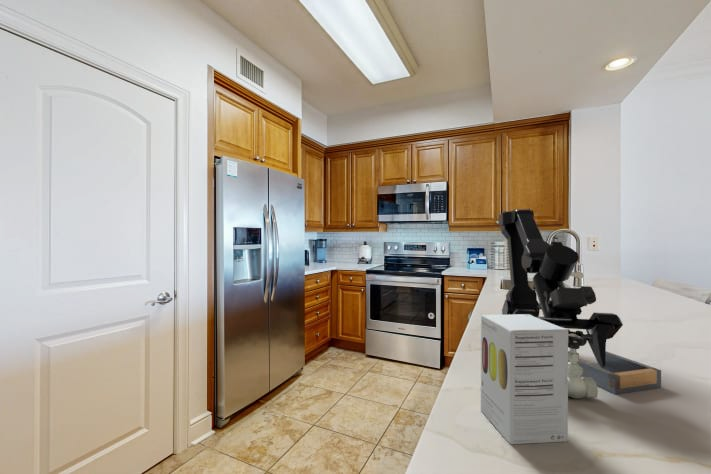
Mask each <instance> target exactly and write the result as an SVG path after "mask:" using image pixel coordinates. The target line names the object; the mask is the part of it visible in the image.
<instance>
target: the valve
mask: <svg viewBox="0 0 711 474" xmlns="http://www.w3.org/2000/svg"><path fill="white" fill-rule="evenodd" d="M570 330H571V329H568V349H569V350H568V360H570V362H568V398H569V397H570V398H572V399H582V398H590V399H595V398H598V395H599V387H598V386H597V385H596V382H595V381H594V379H593V378H592V377H581V375H583V368H582V367H580V366H579V364H578V363H577V362H578V361H579V359H580V354H579V353H578V352H577V350H579V349H580V347H584V346H585V345H586V344H587V342H588V341H589V343H588V345H589V344H594V338H593V335H591V334H587V333H584V331H582V330H576V331H572V330H571V331H570Z"/></svg>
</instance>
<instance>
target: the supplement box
mask: <svg viewBox="0 0 711 474" xmlns="http://www.w3.org/2000/svg"><path fill="white" fill-rule="evenodd" d="M480 324H481V325H480V331H481V332H480V335H481V336H480V342H481V343H480V411H481V412H482V413H483V415H484V416H486V418H487V419H488V420H489V422H490V423H491V424H492V425H493V426H494V428H496V429H497V431H498V433H500V434H501V435H502V436H503V438H504V439H505V440H506V441H507V442H508V443H509V444H510V445H521V444H522V445H524V444H525V445H526V444H542V443H545V444H546V443H563V442H568V439H569V438H568V435H569V433H568V431H569V428H568V427H569V426H568V425H569V424H568V422H569V420H568V419H569V418H568V417H569V415H568V412H569V404H568V403H569V399H568V398H569V396H568V351H569V347H568V330H569V329H568V328H562V327H559V326H557V325H554V324H552V323H549V322H547V321H544V320H541V319H539V318H536V317H534V316H532V315H530V314H513V315H510V314H509V315H502V314H483V315H482V314H481V316H480Z"/></svg>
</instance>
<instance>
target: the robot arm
mask: <svg viewBox="0 0 711 474" xmlns="http://www.w3.org/2000/svg"><path fill="white" fill-rule="evenodd" d="M497 220H498V226H499V227H500V232H501V234H502V235H503V236H504V238H505V239H506V240H507V241H506V242H507V248H508V249H507V251H508V263H509V265H508V266H509V274H510V275H509V276H510V287H509V289H508V291H507V293H506V295H505V300H504V303H503V306H502V308H501V315H513V314H530V315H532V316H534V317H536V318H539V319H541V320H544V321H547V322H549V323H552V324H554V325H557V326H559V327H562V328H565V329H568V330H585V331H586V334H591V335H593V338H594V344H589V341H587V342H588V345H589V346H590V349H591V350H592V353H593V356H594V357H595V359H596V363H599V365H600V367H602V368H604V367H605V365H606V349H607V348H606V347H607V345H606V344H607V340H610V339H613V337H615V335H616V334H617V333H618V331H619V330H620V329H621V328H622V327H623V326H624V324H623V321H622V320H621V318H620V317H619V315H617V314H615V313H611V312H610V313H609V312H593V313H592V314H591V316H590V317H589V318H588V319H587V318H578V316H579V315H580V316H581V314H582V312H583V310H582V309H581V308H583V307H587V306H588V305H592V304H594V303H596V301H597V296H596V293H595V290H594V288H592V286H588V285H587V286H585V285H584V286H580V287H566V285H565V284H564V282H565V281H568V280H569V278H570V277H571V275H572V273H573V272H574V269H575V267H576V265H577V263H578V261H579V258H580V255H579V254H578V252H576V251H575V250H574V249H573V248H571V247H569V246H567V245H564V244H563V242H562V241H551V242H550V243H548V242H547V241H545V239H544V238H543V236H542V233H541V231H540V229H539V226H538V223H537V222H536V220H535V213H534V210H532V209H530V208H528V209H527V208H524V209H523V208H522V209H521V208H519V209H513V210H511V211H509V210H506V211H502V213H499V216H498V219H497ZM528 274H535V275H534V276H533V277H532V282H533V283H532V284H533V285H532V287H531V286H530V284H529V276H528ZM537 298H538V299H537ZM540 310H541V312H542V315H543V316H540Z"/></svg>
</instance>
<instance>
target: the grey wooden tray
mask: <svg viewBox="0 0 711 474" xmlns="http://www.w3.org/2000/svg"><path fill="white" fill-rule="evenodd" d="M568 362H570V360H568ZM577 363H578V364H579V366H580V367H582V368H583V375H581V377H592V378H593V379H594V381H595V382H596V385H597V388H601V389H603V390H605V391H607V392H609V393H611V394H613V395H621V394H629V393H634V392H640V391H649V390H654V389H661V388H662V370H661V369H659V368H656V367H653V366H650V365H647V364H644V363H642V362H638V361H635V360H632V359H629V358H627V357H624V356H621V355H618V354H615V353H612V352H609V351H606V365H605V367H604V368H602V367H600V365H599V363H598V362H593V363H592V362H591V363H589V362H587V361H585V360H581V359H580V358H579V361H578V362H577Z"/></svg>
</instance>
